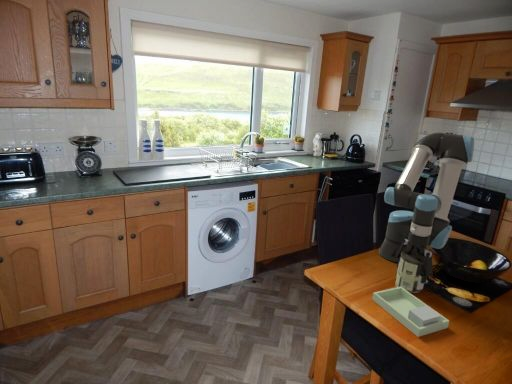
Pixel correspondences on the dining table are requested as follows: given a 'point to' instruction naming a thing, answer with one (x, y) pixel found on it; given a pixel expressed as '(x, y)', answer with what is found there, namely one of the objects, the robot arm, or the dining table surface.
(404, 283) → the coffee can
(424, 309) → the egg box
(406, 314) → the tray
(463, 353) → the dining table surface
